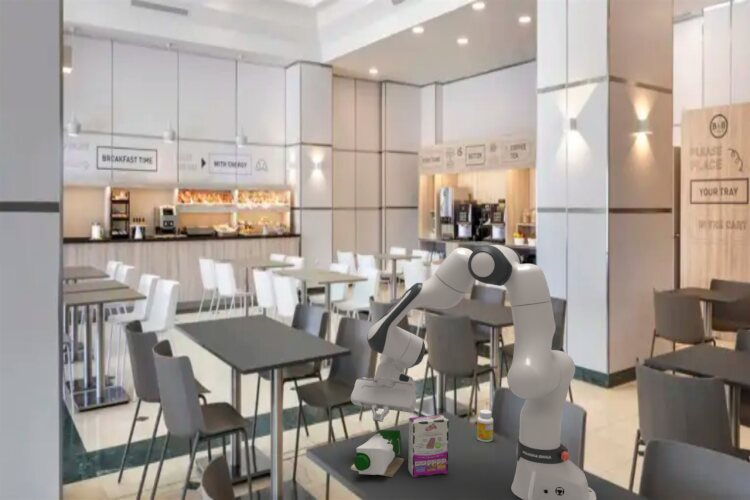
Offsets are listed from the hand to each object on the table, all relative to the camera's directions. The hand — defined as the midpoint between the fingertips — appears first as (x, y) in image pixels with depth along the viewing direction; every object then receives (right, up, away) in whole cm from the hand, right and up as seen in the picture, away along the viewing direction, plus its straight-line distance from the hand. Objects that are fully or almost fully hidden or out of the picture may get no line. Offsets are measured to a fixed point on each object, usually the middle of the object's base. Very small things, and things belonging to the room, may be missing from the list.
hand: (377, 420), depth 181 cm
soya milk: (+4, -9, +9) cm, 14 cm away
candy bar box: (+15, -15, -2) cm, 21 cm away
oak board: (0, -14, +2) cm, 14 cm away
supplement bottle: (+37, -14, +25) cm, 47 cm away
